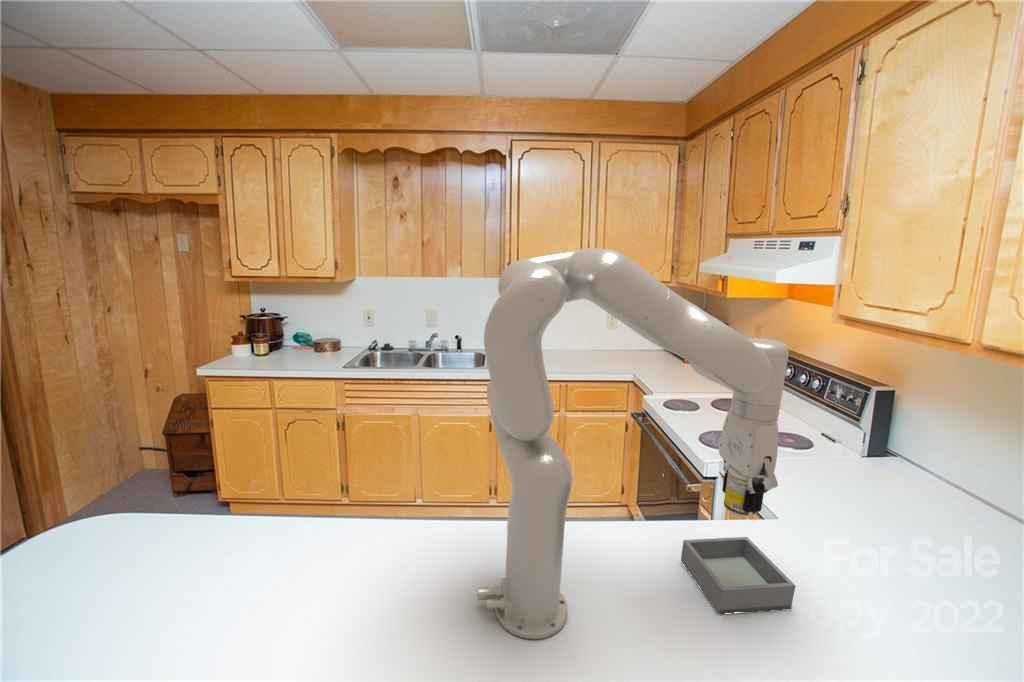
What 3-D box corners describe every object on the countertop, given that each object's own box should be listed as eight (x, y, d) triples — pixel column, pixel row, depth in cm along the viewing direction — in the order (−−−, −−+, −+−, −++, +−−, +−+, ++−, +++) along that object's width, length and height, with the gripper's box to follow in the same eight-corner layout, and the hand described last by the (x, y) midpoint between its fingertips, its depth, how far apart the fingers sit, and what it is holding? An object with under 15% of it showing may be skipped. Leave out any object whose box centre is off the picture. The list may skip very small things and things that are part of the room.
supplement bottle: (744, 501, 90) (752, 452, 88) (762, 518, 84) (771, 466, 82) (717, 502, 89) (724, 452, 87) (733, 519, 84) (741, 467, 82)
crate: (718, 615, 83) (722, 590, 82) (680, 561, 96) (683, 540, 95) (790, 609, 85) (795, 585, 84) (743, 558, 98) (746, 536, 97)
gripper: (708, 393, 90) (697, 478, 94) (767, 428, 74) (751, 530, 78) (744, 392, 91) (732, 477, 95) (810, 427, 75) (792, 528, 79)
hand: (740, 500), depth 86 cm, fingers closed on supplement bottle, 5 cm apart
